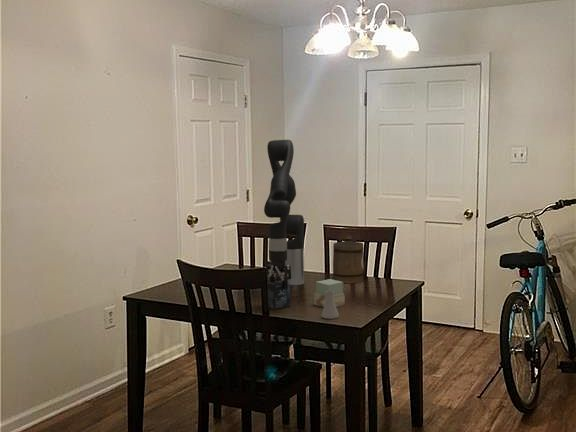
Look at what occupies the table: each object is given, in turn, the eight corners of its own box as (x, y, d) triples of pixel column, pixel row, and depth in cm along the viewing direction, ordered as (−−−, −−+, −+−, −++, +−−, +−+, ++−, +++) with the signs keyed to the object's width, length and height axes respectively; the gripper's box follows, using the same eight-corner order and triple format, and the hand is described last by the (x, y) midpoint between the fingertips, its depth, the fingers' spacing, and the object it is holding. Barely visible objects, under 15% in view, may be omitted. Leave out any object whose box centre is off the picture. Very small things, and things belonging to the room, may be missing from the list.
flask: (319, 314, 257) (319, 289, 256) (337, 314, 257) (337, 289, 256) (322, 319, 250) (321, 294, 248) (340, 319, 250) (340, 293, 249)
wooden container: (369, 281, 315) (369, 236, 313) (345, 285, 308) (345, 239, 305) (350, 275, 328) (350, 232, 325) (327, 279, 320) (326, 235, 317)
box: (274, 309, 265) (274, 284, 264) (267, 307, 270) (267, 282, 268) (290, 306, 269) (290, 281, 268) (283, 304, 274) (282, 279, 273)
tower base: (314, 305, 273) (314, 293, 272) (330, 301, 278) (330, 290, 278) (328, 309, 266) (328, 297, 265) (344, 305, 271) (344, 293, 270)
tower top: (316, 293, 272) (315, 281, 271) (330, 290, 277) (330, 279, 276) (328, 296, 266) (328, 285, 265) (343, 293, 271) (343, 282, 270)
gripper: (260, 247, 270) (261, 286, 272) (281, 252, 259) (281, 292, 260) (274, 246, 274) (275, 283, 276) (295, 249, 263) (296, 289, 265)
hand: (278, 287), depth 268 cm, fingers open, 8 cm apart
